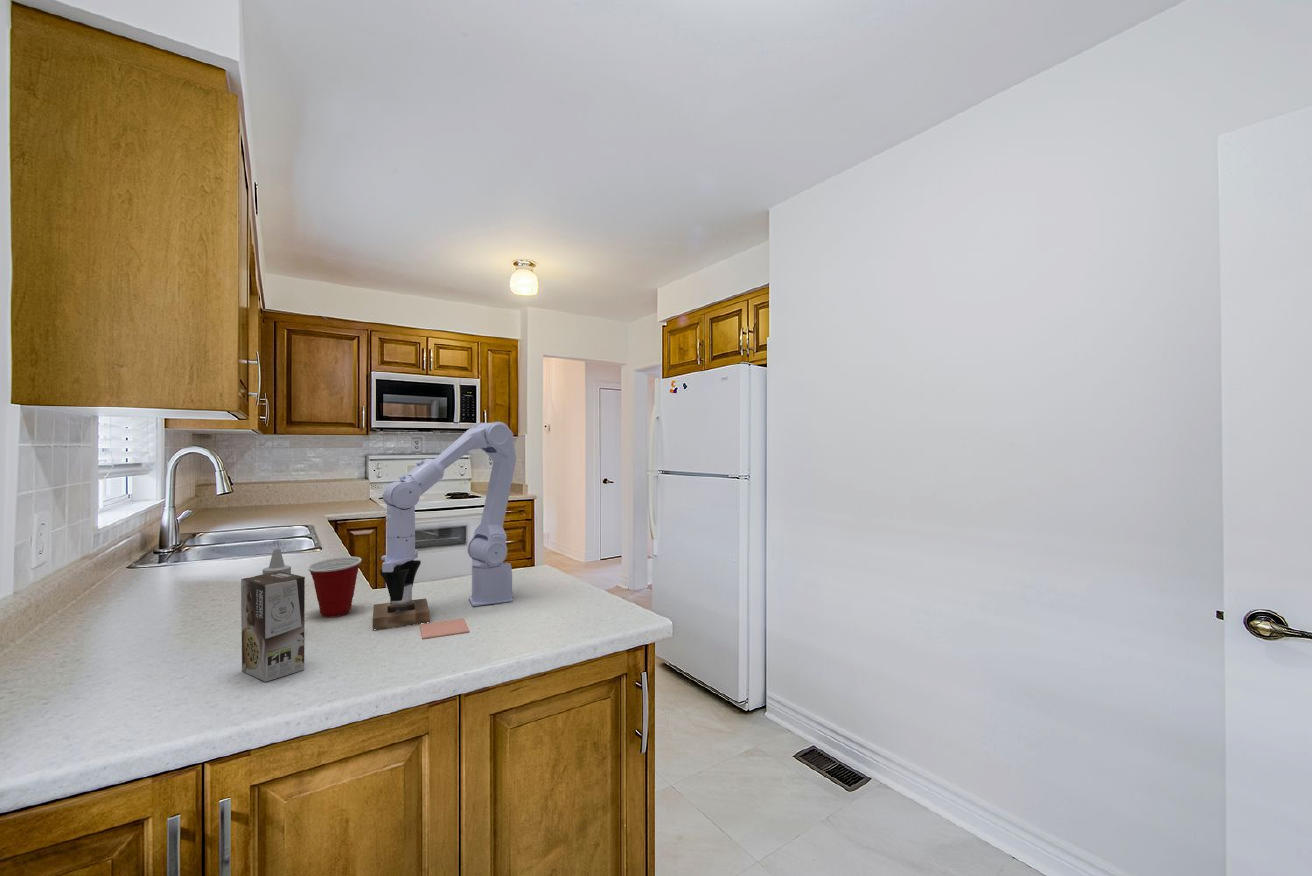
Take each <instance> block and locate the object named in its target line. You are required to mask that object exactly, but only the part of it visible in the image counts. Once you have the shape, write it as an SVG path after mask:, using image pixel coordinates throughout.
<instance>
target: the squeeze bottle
mask: <svg viewBox="0 0 1312 876" xmlns="http://www.w3.org/2000/svg"><path fill="white" fill-rule="evenodd" d="M278 571H281V572H285V573H290V574H292V566H290V565H288V564H287V565H286V564H285V561H284V557H283V553H282V549H280V548H275V549H273V550H272V554H271V558H270V561H269V565H268V567H265V568H263V569H262V574H267V573H272V572H278Z"/></svg>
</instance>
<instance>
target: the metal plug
mask: <svg viewBox="0 0 1312 876" xmlns="http://www.w3.org/2000/svg"><path fill="white" fill-rule="evenodd" d="M412 600H413V587H412V584H410V583H405V584H404V593H403V598H402V600H401V601H391V599H390V598H389V603H390V613H392V612H400V611H408V610H412Z"/></svg>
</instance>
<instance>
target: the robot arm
mask: <svg viewBox="0 0 1312 876" xmlns="http://www.w3.org/2000/svg"><path fill="white" fill-rule="evenodd" d="M513 439H514V432H513V431H512V430H511V429H510V428H509V426H508V425H507V424H506V423H504V422H503V421H494V422H478V423H476V424H475V425H474V426H473V427H471V428H469V429H467V430H466V431H465V432H464V433H462V434H461V436H460V437H458V438H457V439H456V440H455V441H453V443H451V444H450V445H449V446H448V447H447V448H445V450H442V452H441V453H439V455H437V456H436V457H435V458H433V459H432V458H425V459H424V460H422V459H420V460H418V461H416V463H415V464H416V466H415V467H414V468H412V469H411V470H409V471H408V472H407V473H406V474H401V475H400V476H398V477H399V478H398V479H399V481H394V482H391V483H389V484H388V485H387V486H386V487H385V490H384V492H383V494H382V495H381V496H382V499H383V503H384V504H386V554H384V555H382V556H381V557H380V560H382V561H384V562H382V565H381V567H382V568H381V569H379V574H380V576H381V578H383V580H384V583H385V584H386V585H385V586H386V588H387V591H388V595H389V600H390V599H391V601H401V600H402V598H403V593H404V584H405V583H410V584H412V588H413V586H414V581H415V578H416V575H417V572H418V569H419V568H420V566H421V563H422V561H421V560H418V559H417V558H418V557H419V549H418V548H417V549H416V513H415V511H416V507H415V506H417V504H418V503H419V501H420V499H421V497H420V496H422V495H423V494H425V492H427V491H428V490H429V489H431V488H432V487H433V486H434V485H436V484H437V483H438V482H439V481H441V480H442V479H443V478H444V476H445V474H444V473H445V471H446V470H445V469H447V468H449V467H450V466H451V465H453V464H454V463H456V462H457V461H458V460H459V459H460V458H462V457H464V456H465V455H466V454H468V453H469V452H470V451H472V450H473V451H474V450H479V449H481V450H482V451H484V452H485V454H487V456H488V457H489V458H490V460H491V461H492V466H491V472H490V475H489V476H490V478H489V482H488V486H487V489H486V496H485V501H484V506H483V511H482V516H481V520H480V524H478V526H477V527H476V528H475V529H474V533H473V536H472V538H471V539H470V540H469V542H468V544H467V554H468V556H469V558H471V559H472V561H471V595H469V596H468V600H469V602H470V604H471V605H472V606H473V607H480V606H485V605H494V604H503V603H509V602H510V603H511V602H513V601H514V599H513V570H512V565H511V563H510V562H504V561H505V560H506V558H507V556H508V547H507V539H508V537H507V533H506V531H505V529H504V523H505V518H506V513H507V507H508V503H509V498H510V493H511V492H510V491H511V488H512V484H513V483H512V482H513V478H514V472H515V466H516V462H517V455H516V449H515V445H514V442H513ZM415 559H416V560H415Z"/></svg>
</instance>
